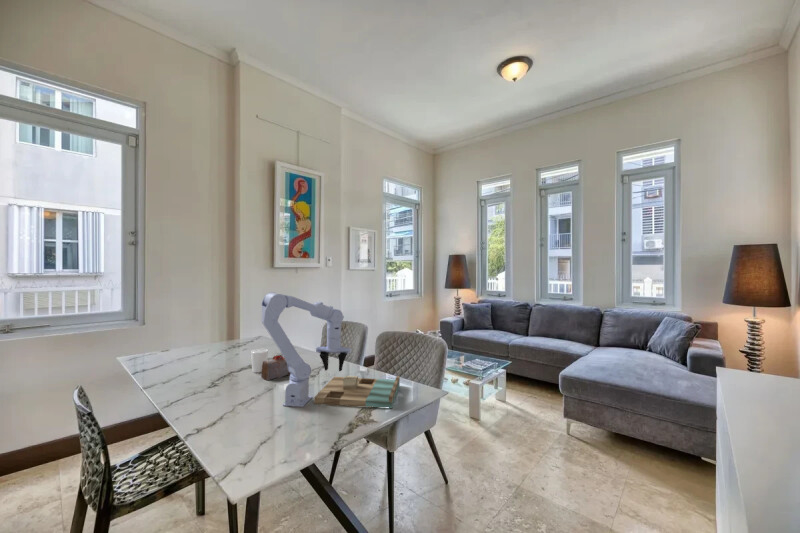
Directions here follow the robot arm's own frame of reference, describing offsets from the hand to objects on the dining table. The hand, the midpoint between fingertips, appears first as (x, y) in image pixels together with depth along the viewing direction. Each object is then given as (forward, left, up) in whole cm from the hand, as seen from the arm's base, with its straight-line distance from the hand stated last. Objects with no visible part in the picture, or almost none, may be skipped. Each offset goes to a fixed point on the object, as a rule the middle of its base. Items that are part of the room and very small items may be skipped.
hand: (333, 370), depth 136 cm
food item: (+16, +33, -10) cm, 38 cm away
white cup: (+22, +46, -10) cm, 51 cm away
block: (0, -8, -7) cm, 10 cm away
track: (0, -12, -9) cm, 15 cm away
